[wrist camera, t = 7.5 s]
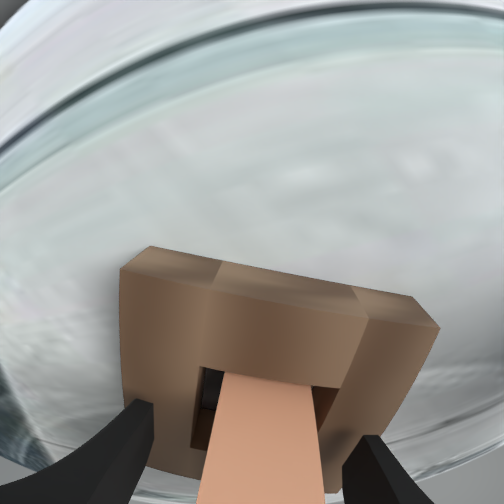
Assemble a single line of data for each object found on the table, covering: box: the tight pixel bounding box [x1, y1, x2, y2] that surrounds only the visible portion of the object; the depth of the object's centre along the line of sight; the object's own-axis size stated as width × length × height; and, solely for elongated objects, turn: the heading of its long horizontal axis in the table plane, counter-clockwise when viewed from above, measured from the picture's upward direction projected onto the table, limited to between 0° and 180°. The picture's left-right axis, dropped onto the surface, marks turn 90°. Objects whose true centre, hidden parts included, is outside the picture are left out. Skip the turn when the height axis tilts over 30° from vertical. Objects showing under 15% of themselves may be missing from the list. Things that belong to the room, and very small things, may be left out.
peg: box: [196, 372, 325, 504], centre depth 8 cm, size 3×3×8 cm
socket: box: [119, 246, 440, 493], centre depth 11 cm, size 10×10×2 cm
